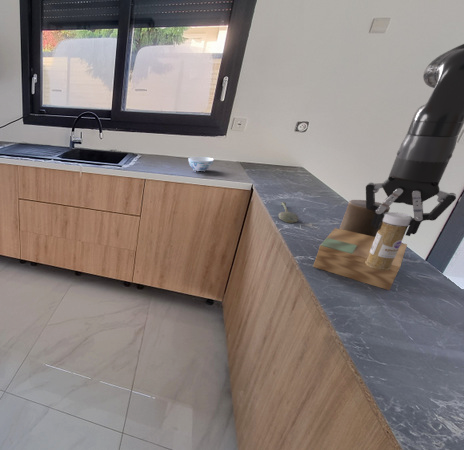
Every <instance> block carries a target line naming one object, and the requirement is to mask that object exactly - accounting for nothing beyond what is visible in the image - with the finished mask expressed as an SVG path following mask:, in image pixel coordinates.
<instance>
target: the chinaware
mask: <svg viewBox="0 0 464 450" xmlns="http://www.w3.org/2000/svg"><path fill="white" fill-rule="evenodd" d="M187 159H188V164H189V166H190V167H191V169H193V171H194V170H197V171H204V172H206V170H208V169H209V168H210V167H212V165H213V163H214V161H215V159H214V158H212V157H208V156H190V157H188V158H187Z"/></svg>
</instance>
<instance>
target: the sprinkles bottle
mask: <svg viewBox="0 0 464 450" xmlns="http://www.w3.org/2000/svg"><path fill="white" fill-rule="evenodd" d="M412 219H413V216H411V215H409V214H407V213H403V212H398V211H397V212H396V211H389V212H386V213H384V215H383V217H382V223H381V225H380V228H379V230H378V232H377V234H376V237H375V239H374V242H373V244H372V247H371V249H370V253H369V256H368V258H367V260H366V261H365V264H366V265H367V266H369V267H371V268H374V269H377V270H390V269H391V264H392V262H393V260H394V258H395V256H396V254H397V252H398V249H399V247H400V245H401V243H403V239H404V237H405V236H406V232H407V230H408V228H409V225H410V224H411V221H412Z"/></svg>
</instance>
